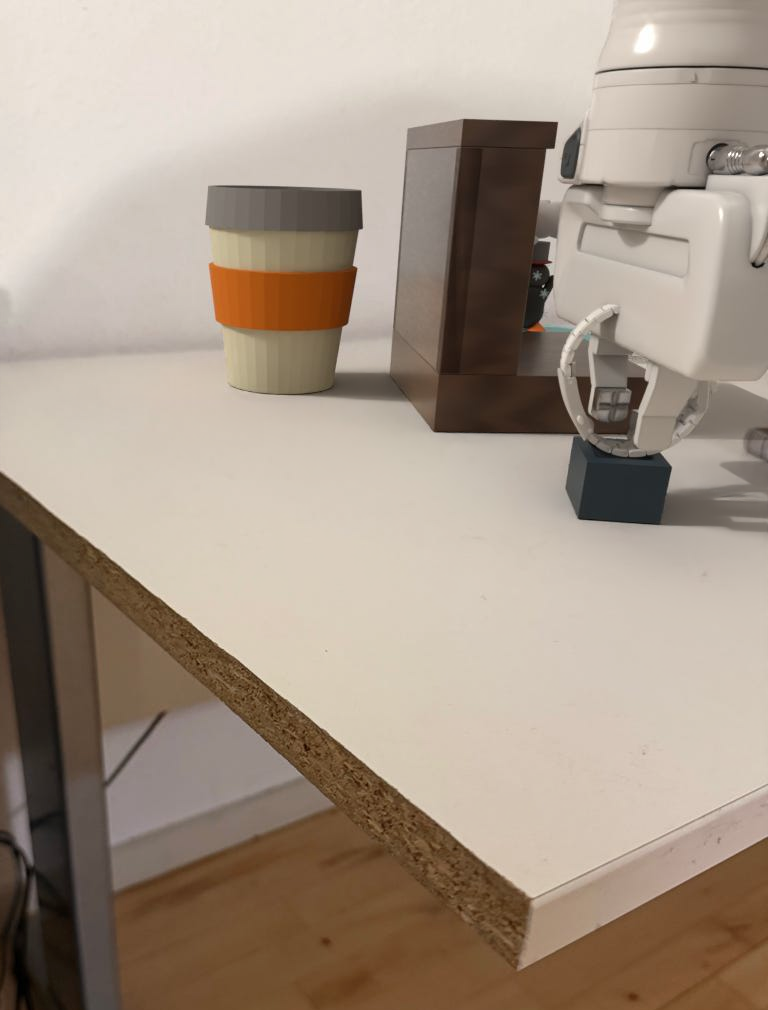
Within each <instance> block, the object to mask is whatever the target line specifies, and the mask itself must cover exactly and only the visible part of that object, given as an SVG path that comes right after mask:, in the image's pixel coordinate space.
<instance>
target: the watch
mask: <svg viewBox="0 0 768 1010" xmlns="http://www.w3.org/2000/svg"><path fill="white" fill-rule="evenodd" d="M620 307H621V306H620V305H611V304H607V305H601V306H600V307H598V308H596V309H595V310H593V311H592V312H590V315H587V316H585V317H584V318H583V319H582V320H581V321H580V322H579V323H578V324H577V325H575V327H573V328H574V329H573V330H572V332H571V333H570V335H569V337H568V338H567V340H566V344H565V345H564V347H563V350H562V354H561V357H562V358H561V359H560V368H558V369H557V371H558V378H559V384H560V389H561V393H562V397H563V400H564V403H565V406H566V408H567V410H568V413H569V415H570V417H571V419H572V421H573V423H574V424H575V426H576V428H577V430H578V432H579V433H578V434H579V435H573V438H572V443H571V450H570V456H569V462H568V467H567V476H566V480H565V486H564V489H565V492H566V494H567V495H568V498H569V501H570V504H571V505H572V506H571V507H572V508H573V511H574V513H575V515H576V518H577V519H583V520H596V521H610V522H611V521H612V522H624V523H625V522H626V523H640V524H655V525H661V521H662V517H663V513H664V508H665V503H666V499H667V493H668V489H669V484H670V479H671V474H672V471H673V466H672V465H671V464H670V462H669V461H668V460H667V459H666V458H665V457H664V456H665V455H663V454H662V453H661V452H664V451H665V450H663V451H642V450H641V449H639V448H638V447H636V446H635V445H633V444H632V443H631V442H630V441H629V440H628V439H627V438H613V437H603V436H601V435H599V433H593V431H594V430H593V429H594V422H593V421H592V419H591V418H589V417H588V416H586V414H585V411H584V409H583V406H582V403H581V400H580V396H579V391H578V386H577V380H576V371H575V369H576V361H575V360H574V359H573V357H574V354H575V352H574V350H576V349H577V348H578V346H579V344H580V343H581V341H582V340H583V338H584V335H587V334H588V333H591V332H590V331H591V330H592V329H593V328H594V327H595V326H596V325H597V323H601V322H602V321H604V320H605V319H607V318H609V317H611V316H612V315H613V314H614V313H615V314H618V313H619V312H620ZM717 391H718V381H701V380H698V383H697V387H696V389H695V390H694V392H693V393H692V395H691V397H690V398H689V400H688V401H687V403H686V405H685V406H684V408H683V409H682V413H680V414H679V416H678V417H677V418H676V423H675V428H674V432H673V437H672V441H671V444H670V446H669V447H668V448H667V449H666V450H668V449H670V448H672V447H674V446H675V445H677V444H678V443H680V442H681V441H682V439H685V438H686V437H687V436H689V434H691V432H692V431H693V430H694V429H695V428H696V426H697V425H698V424H699V423H700V421H701V420H702V418H703V417H704V415H706V412H707V411H708V410H709V403H710V395H712V394H715V393H716V392H717Z"/></svg>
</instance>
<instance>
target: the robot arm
mask: <svg viewBox="0 0 768 1010" xmlns="http://www.w3.org/2000/svg"><path fill="white" fill-rule="evenodd" d="M611 13H612V14H611V19H610V23H609V27H608V32H607V35H606V38H605V41H604V44H603V46H602V47H601V51H600V53H599V56H598V58H597V61H596V65H595V69H594V77H593V82H592V88H591V95H590V101H589V102H590V103H589V105H588V106H587V108H586V110H585V111H584V115H583V116H582V119H581V121H580V122H579V123H578V125H577V126H576V127H575V128H574V129H573V131H571V133H570V134H568V136H567V137H565V139H564V141H563V142H562V145H561V147H560V151H559V156H558V163H557V171H556V172H557V173H556V174H557V181H558V182H559V183H561V184H564V185H570V186H569V187H568V188H567V189H566V190H565V192H564V194H563V197H562V199H561V202H562V204H561V209H560V216H559V224H558V233H557V239H556V245H555V254H554V255H555V257H554V267H553V275H554V280H553V289H552V293H553V304H554V309H555V314H556V317H558V318H559V319H561V320H563V321H565V322H567V323H569V324H572V325H574V326H576V325H577V324H578V323H579V322H580V321H581V320H582V319H583V318H584V317H585V316H587V315H590V312H592V311H593V310H595V309H596V308H598V307H600V306H601V305H607V304H611V305H620V306H621V307H620V312H619V313H618V314H615V313H614V314H613V315H612V316H611V317H609V318H607V319H605V320H604V321H602V322H601V323H597V325H596V326H595V327H594V328H593V329H592V330H591V331H590V332H589V333H590V334H591V335H590V341H589V347H588V357H589V368H590V378H591V385H592V388H591V394H590V400H589V406H588V412H589V414H590V415H591V416H592V417H594V418H595V419H597V420H599V421H601V422H614V423H616V422H622V421H623V420H625V419H626V417H627V414H628V405H629V403H630V398H631V393H632V391H630V390H629V389H627V388H626V387H627V374H628V361H629V356H633V354H636V355H638V356H641V357H643V358H645V359H646V360H647V361H646V366H645V369H646V372H645V377H644V378H645V381H647V382H649V383H648V386H647V389H646V391H645V394H644V396H643V399H642V402H641V404H640V407H639V409H638V410H631V415H630V421H629V429H628V431H627V434H626V439H628V440H629V441H630V442H631V443H632V444H633V445H635V446H636V447H638V448H639V449H641V450H642V451H662V452H664V451H666V450H668V449H669V448H668V447H669V446H670V444H671V441H672V437H673V432H674V428H675V423H676V418H677V417H678V416H679V415H680V414H682V412H683V410H684V408H685V407H686V405H687V403H688V402H687V401H688V400H689V398H690V397H691V395H692V393H693V392H694V390H695V389H696V387H697V383H698V380H701V381H717V382H756V381H758V380H760V379H762V378H763V377H764V375H765V374H766V373H767V372H768V0H612V11H611ZM667 448H668V449H667ZM663 450H664V451H663Z"/></svg>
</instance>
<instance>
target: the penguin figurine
mask: <svg viewBox="0 0 768 1010" xmlns="http://www.w3.org/2000/svg"><path fill="white" fill-rule="evenodd" d="M561 204H562V201H551V200H550V199H540V203H539V210H538V218H537V226H536V233H535V241H534V248H533V256H532V263H531V271H530V279H529V286H528V294H527V301H526V309H525V316H524V324H523V331H546V332H572V330H573V329H574V328H575V327H570V326H562V325H549V324H541V323H540V321H541V320H542V319H544V317H545V318H547V317H548V315H547V314H548V311H545V304H546V302H547V300H548V299H549V296H550V295H551V292H552V291H553V280H554V274H550V268H549V267H550V266H551V264H553V261H552V260H549V257H550V249H551V241H546V240H541V239H546V238H549V237H550V238H553V239H556V240H557V233H558V224H559V216H560V209H561ZM590 335H591V332H589V333H588V334H587V335H584V339H586V340H588V341H590Z"/></svg>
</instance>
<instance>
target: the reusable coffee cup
mask: <svg viewBox="0 0 768 1010" xmlns="http://www.w3.org/2000/svg"><path fill="white" fill-rule="evenodd" d="M363 216H364V215H363V194H362V189H357V188H341V187H340V188H339V187H338V188H337V187H320V186H319V187H318V186H317V187H315V186H290V185H288V186H286V185H285V186H282V185H248V184H247V185H243V184H241V185H239V184H238V185H235V184H230V185H229V184H226V185H225V184H224V185H223V184H221V185H220V184H218V185H216V184H214V185H208V186H207V196H206V209H205V219H204V220H205V221H204V225H205V226H208V228H209V236H210V244H211V252H212V261H211V262H210V263H208V269H209V270H208V271H209V279H210V286H211V293H212V294H211V295H212V301H213V310H214V319H215V321H216V322H217V323H219V324H220V326H221V333H222V341H223V349H224V358H225V364H226V375H227V382H228V384H229V385H230V386H232V387H233V388H237V389H239V390H243V391H247V392H253V393H261V394H272V395H301V394H302V395H303V394H311V393H318V392H323V391H326V390H329V389H331V388H333V386H334V380H335V376H336V375H335V374H336V367H337V362H338V356H339V351H340V345H341V340H342V333H343V327H346V326H347V325H348V324H349V322H350V316H351V315H350V314H351V309H352V305H353V304H352V303H353V298H354V292H355V288H356V287H355V286H356V280H357V276H358V275H357V274H358V269H359V268H358V267H357V266H354V261H355V256H356V250H357V244H358V238H359V232H360V230H363V229H364V218H363Z"/></svg>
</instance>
